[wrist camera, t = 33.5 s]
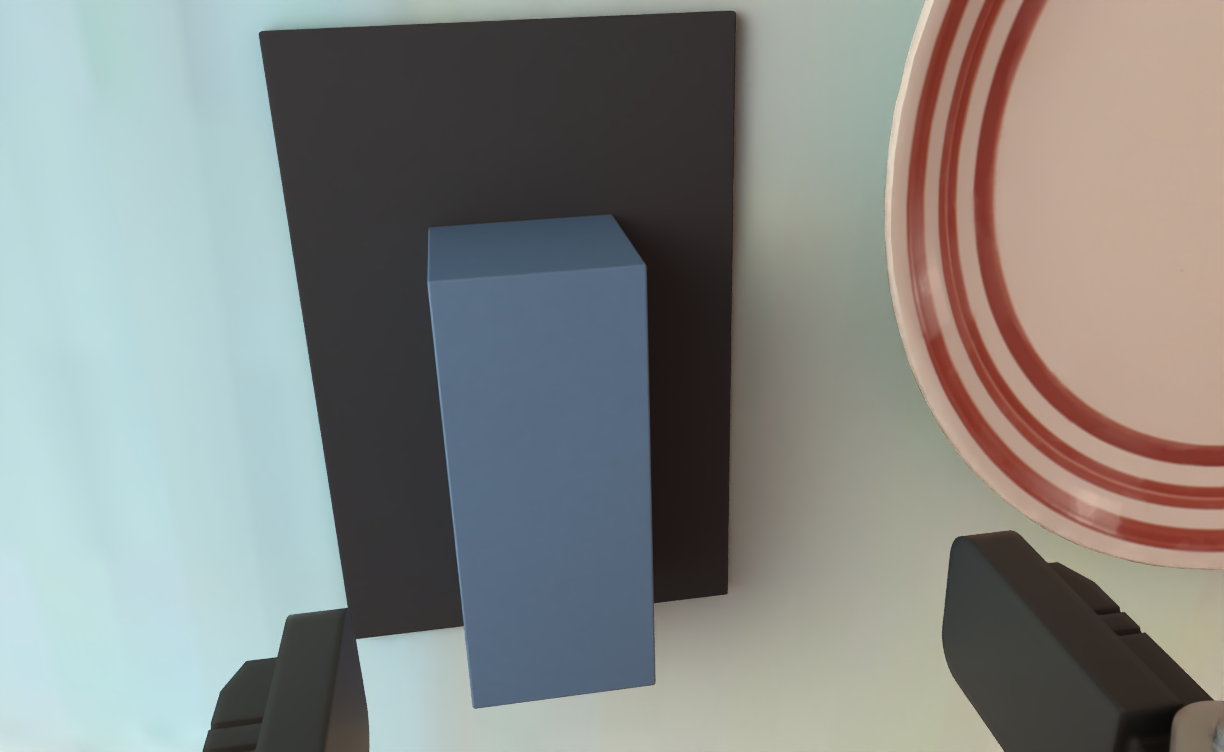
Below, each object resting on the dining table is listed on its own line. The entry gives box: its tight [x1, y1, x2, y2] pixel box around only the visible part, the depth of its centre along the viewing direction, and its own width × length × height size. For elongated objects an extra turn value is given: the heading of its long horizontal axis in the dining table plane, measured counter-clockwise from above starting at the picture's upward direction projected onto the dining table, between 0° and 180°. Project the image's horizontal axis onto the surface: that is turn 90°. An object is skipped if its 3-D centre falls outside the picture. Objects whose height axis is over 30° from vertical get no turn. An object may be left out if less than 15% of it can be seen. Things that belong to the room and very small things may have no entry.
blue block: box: [427, 214, 655, 709], centre depth 28 cm, size 5×5×12 cm
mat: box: [259, 11, 736, 639], centre depth 30 cm, size 12×18×1 cm, turn 2°
